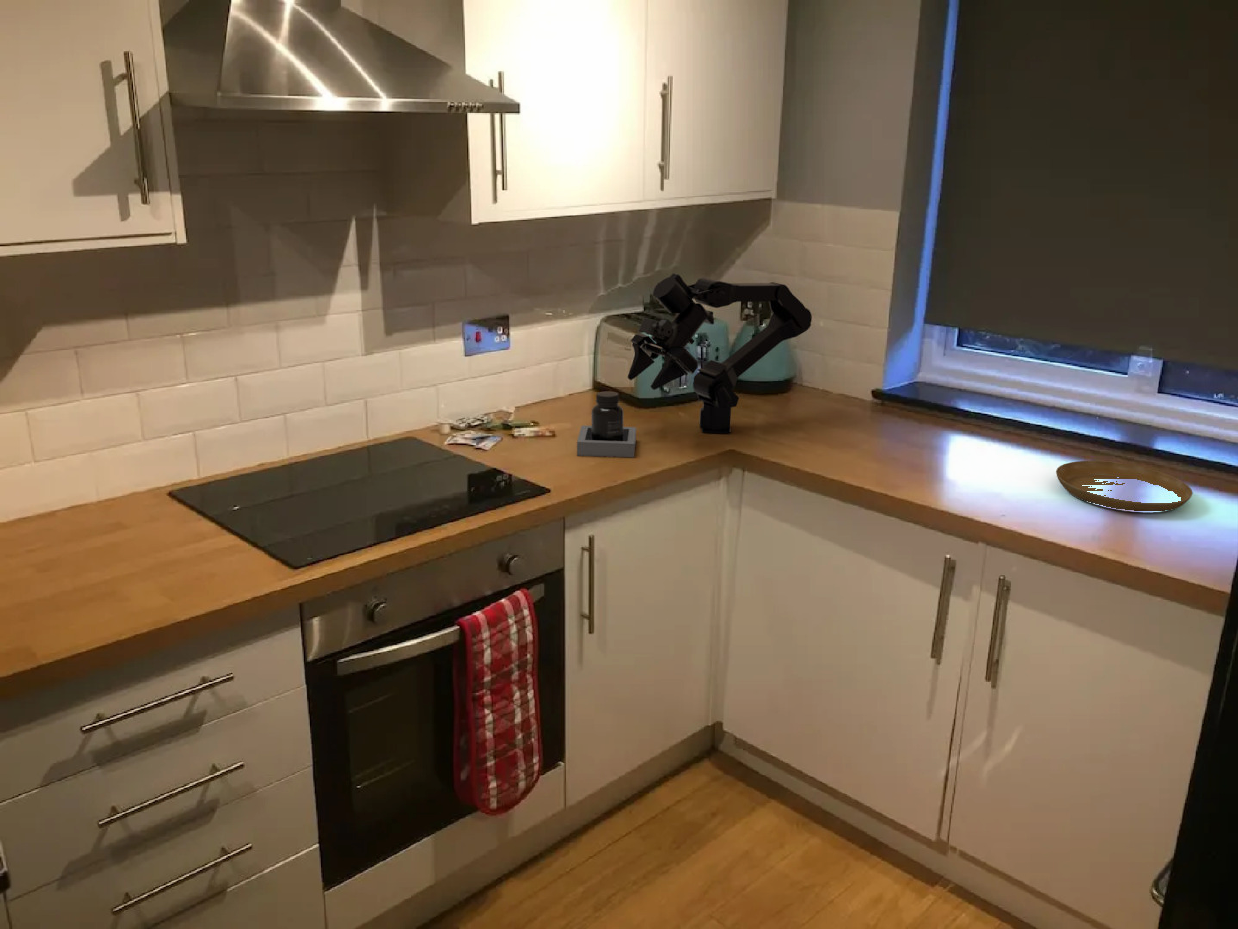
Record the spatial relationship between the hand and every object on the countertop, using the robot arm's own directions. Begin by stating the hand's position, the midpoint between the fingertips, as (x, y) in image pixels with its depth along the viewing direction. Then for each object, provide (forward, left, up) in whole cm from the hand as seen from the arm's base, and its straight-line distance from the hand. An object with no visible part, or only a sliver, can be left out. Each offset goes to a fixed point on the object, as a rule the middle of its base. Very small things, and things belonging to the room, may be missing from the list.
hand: (640, 383), depth 225 cm
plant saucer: (-94, +23, -14) cm, 98 cm away
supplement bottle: (+7, +4, -13) cm, 16 cm away
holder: (+7, +4, -13) cm, 15 cm away
